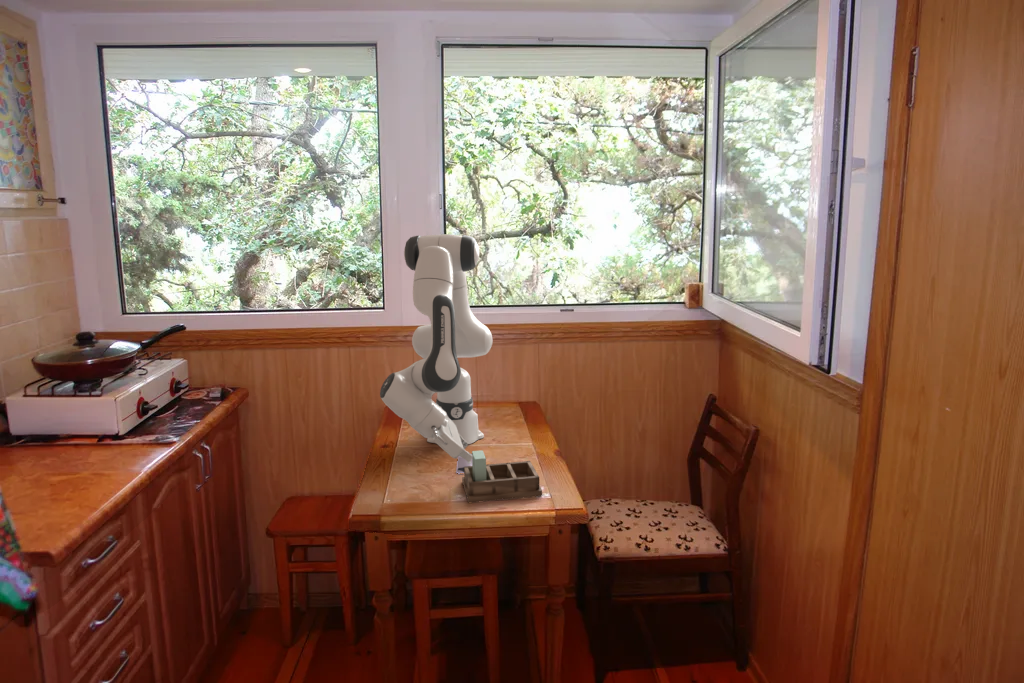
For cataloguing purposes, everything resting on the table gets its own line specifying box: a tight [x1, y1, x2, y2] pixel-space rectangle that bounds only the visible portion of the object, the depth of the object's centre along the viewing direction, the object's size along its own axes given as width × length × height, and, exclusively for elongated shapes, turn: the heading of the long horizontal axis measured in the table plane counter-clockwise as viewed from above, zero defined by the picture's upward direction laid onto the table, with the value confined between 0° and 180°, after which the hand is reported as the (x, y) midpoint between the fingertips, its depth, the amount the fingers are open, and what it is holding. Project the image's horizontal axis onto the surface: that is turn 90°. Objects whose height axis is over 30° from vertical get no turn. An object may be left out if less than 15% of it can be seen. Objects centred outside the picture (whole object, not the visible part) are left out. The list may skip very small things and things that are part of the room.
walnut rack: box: [461, 460, 543, 503], centre depth 197 cm, size 14×20×5 cm
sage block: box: [471, 449, 487, 482], centre depth 196 cm, size 6×3×9 cm, turn 11°
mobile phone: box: [455, 453, 472, 475], centre depth 216 cm, size 8×1×15 cm
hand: (468, 452), depth 194 cm, fingers open, 8 cm apart
